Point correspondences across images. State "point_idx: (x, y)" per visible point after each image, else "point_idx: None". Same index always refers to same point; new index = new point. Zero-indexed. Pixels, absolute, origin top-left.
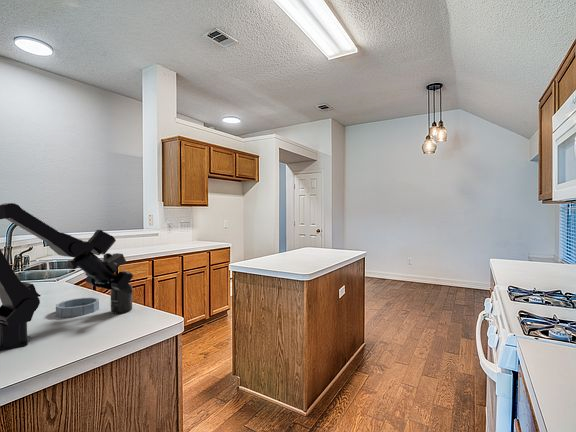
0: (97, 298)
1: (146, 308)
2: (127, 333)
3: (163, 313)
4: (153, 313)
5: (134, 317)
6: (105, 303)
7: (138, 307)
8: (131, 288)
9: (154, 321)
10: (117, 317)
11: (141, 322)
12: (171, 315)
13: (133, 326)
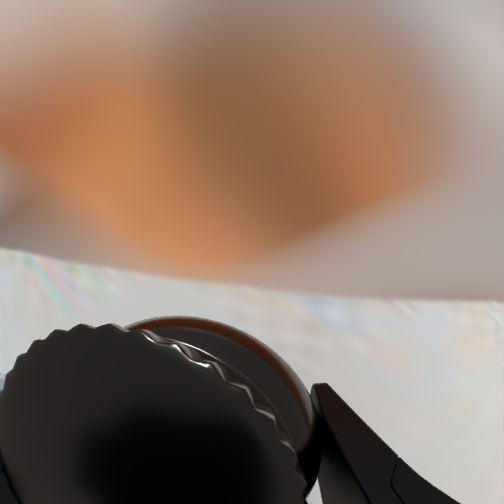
0: (3, 380)
1: (319, 304)
2: (494, 497)
3: (458, 309)
4: (428, 338)
5: (400, 434)
6: (27, 331)
7: (252, 315)
8: (299, 378)
9: (499, 390)
10: (313, 488)
11: (473, 435)
12: (493, 306)
13: (475, 471)
